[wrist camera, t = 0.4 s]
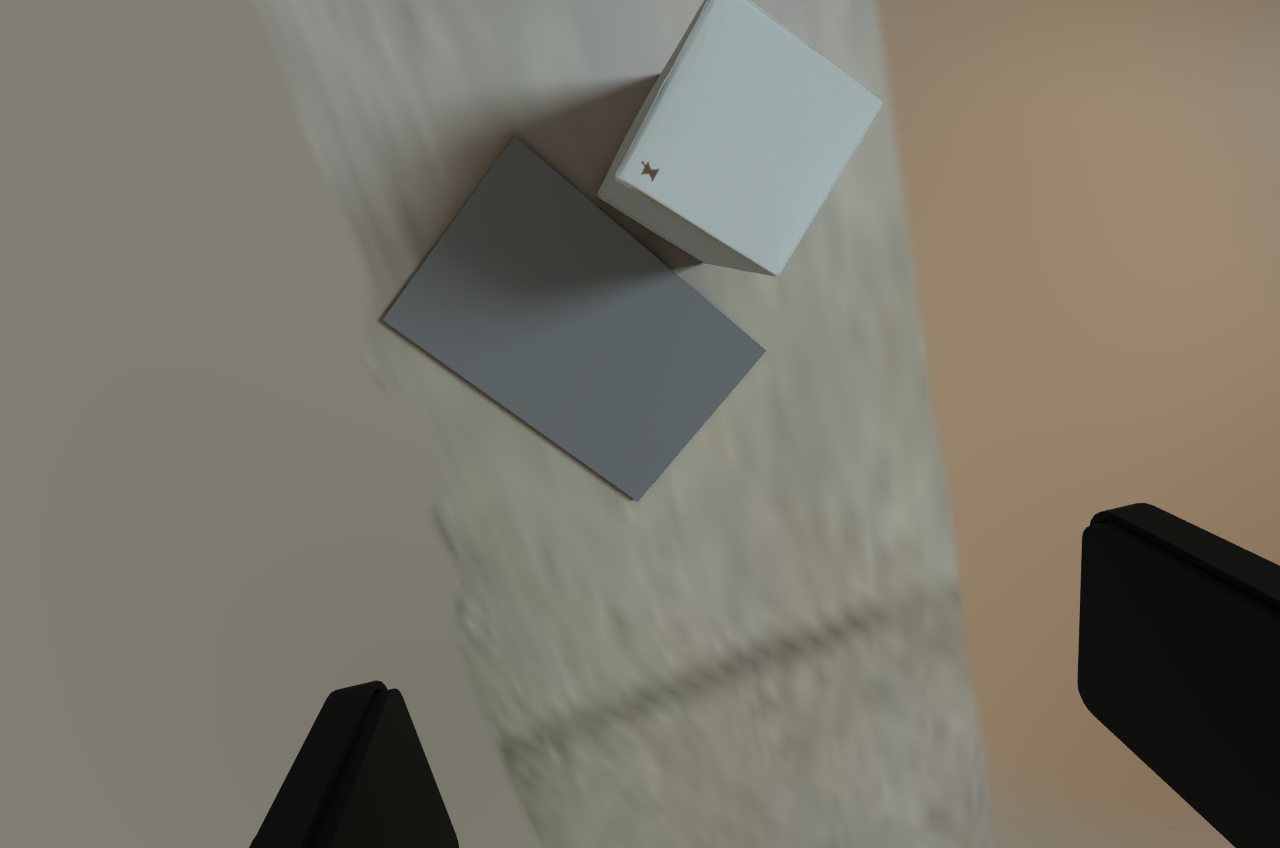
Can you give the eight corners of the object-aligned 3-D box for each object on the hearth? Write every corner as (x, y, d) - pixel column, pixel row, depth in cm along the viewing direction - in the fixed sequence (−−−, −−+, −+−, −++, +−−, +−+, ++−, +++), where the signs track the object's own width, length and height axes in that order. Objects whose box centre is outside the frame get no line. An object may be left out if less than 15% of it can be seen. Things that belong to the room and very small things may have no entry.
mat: (514, 136, 33) (514, 135, 32) (764, 349, 37) (766, 350, 37) (384, 319, 35) (382, 319, 34) (636, 499, 39) (637, 501, 39)
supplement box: (706, 267, 36) (776, 286, 24) (592, 195, 34) (605, 177, 22) (778, 147, 34) (892, 102, 22) (663, 65, 33) (719, -32, 20)
